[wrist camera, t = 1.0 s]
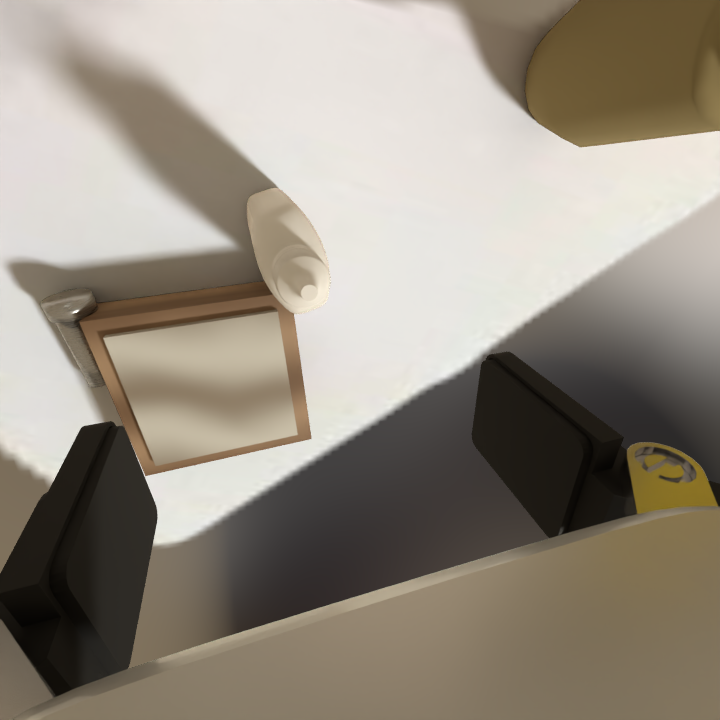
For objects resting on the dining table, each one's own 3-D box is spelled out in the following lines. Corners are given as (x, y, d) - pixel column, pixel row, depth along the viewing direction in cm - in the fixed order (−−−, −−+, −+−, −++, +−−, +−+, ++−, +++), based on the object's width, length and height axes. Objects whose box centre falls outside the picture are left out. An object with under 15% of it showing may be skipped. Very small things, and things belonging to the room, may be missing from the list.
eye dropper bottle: (239, 270, 27) (246, 350, 17) (248, 180, 24) (263, 210, 14) (304, 280, 28) (345, 358, 18) (318, 196, 26) (375, 232, 16)
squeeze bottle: (632, 14, 26) (1193, -158, 11) (586, 153, 30) (959, 168, 15) (530, -17, 24) (1065, -293, 9) (493, 138, 27) (823, 137, 12)
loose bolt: (28, 306, 23) (65, 308, 22) (66, 287, 25) (101, 288, 24) (77, 390, 26) (110, 394, 25) (107, 368, 28) (138, 370, 27)
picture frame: (94, 303, 25) (76, 325, 22) (285, 278, 28) (291, 294, 25) (152, 448, 31) (144, 480, 28) (305, 416, 34) (312, 442, 31)
